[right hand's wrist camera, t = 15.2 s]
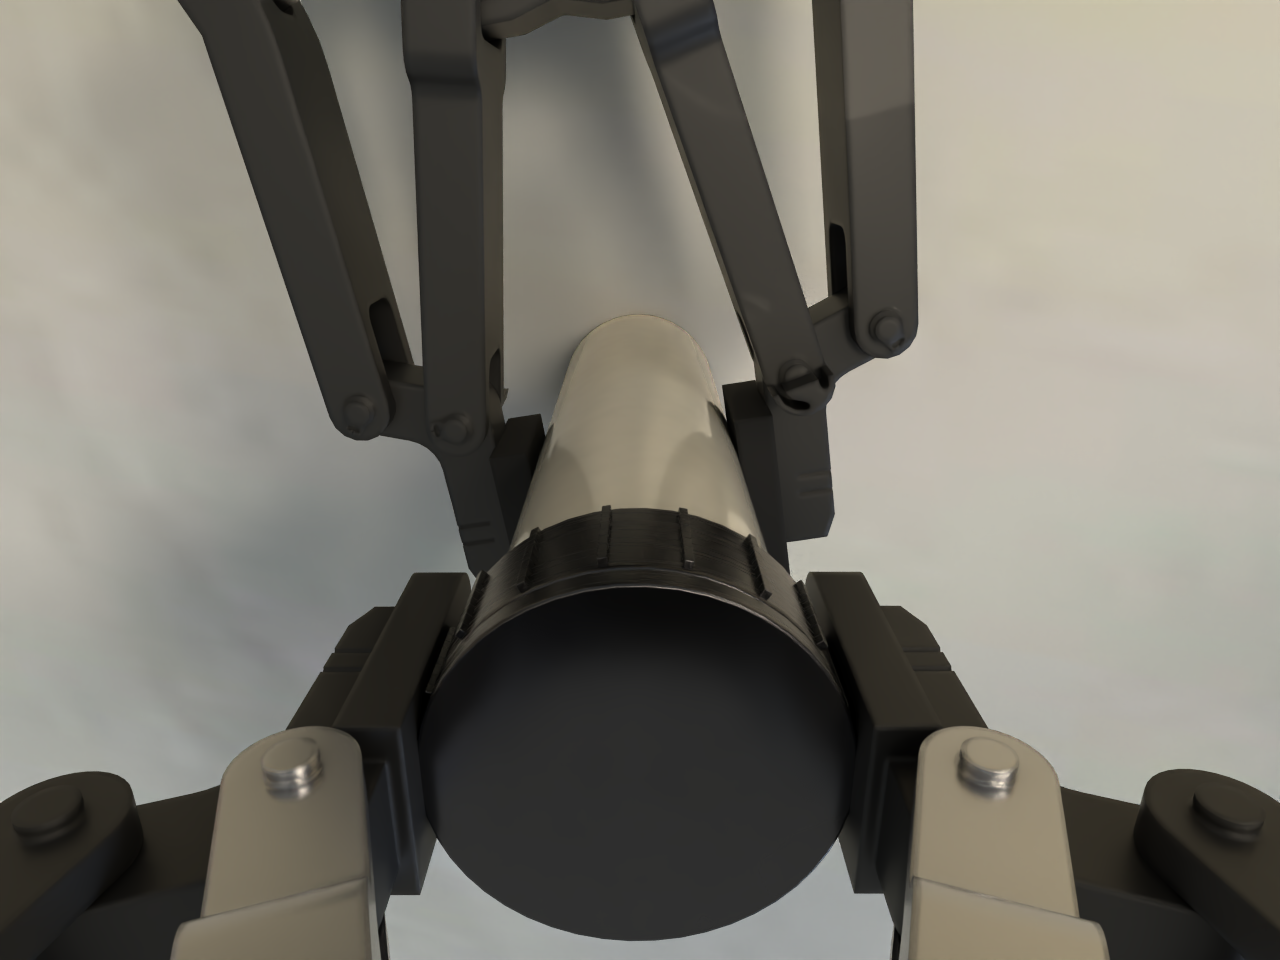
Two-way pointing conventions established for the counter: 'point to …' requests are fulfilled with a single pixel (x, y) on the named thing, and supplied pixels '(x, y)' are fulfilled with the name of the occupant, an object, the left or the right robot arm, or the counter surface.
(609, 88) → the counter surface
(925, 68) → the counter surface
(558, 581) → the lid
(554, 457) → the jar
